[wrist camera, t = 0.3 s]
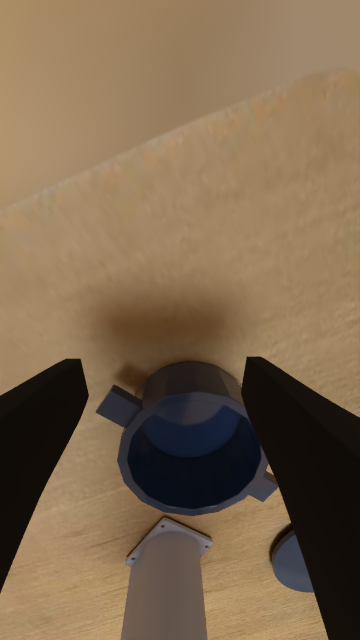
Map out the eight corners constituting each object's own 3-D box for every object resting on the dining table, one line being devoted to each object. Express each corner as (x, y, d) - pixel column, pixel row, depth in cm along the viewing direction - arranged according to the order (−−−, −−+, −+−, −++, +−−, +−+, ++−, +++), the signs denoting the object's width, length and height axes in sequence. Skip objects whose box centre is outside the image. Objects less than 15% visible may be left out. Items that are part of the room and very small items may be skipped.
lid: (318, 591, 29) (343, 648, 25) (249, 559, 27) (264, 616, 23) (386, 537, 27) (428, 589, 23) (317, 497, 25) (348, 546, 20)
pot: (219, 484, 24) (231, 544, 19) (88, 415, 21) (60, 463, 16) (287, 411, 22) (323, 455, 16) (152, 323, 19) (144, 343, 13)
